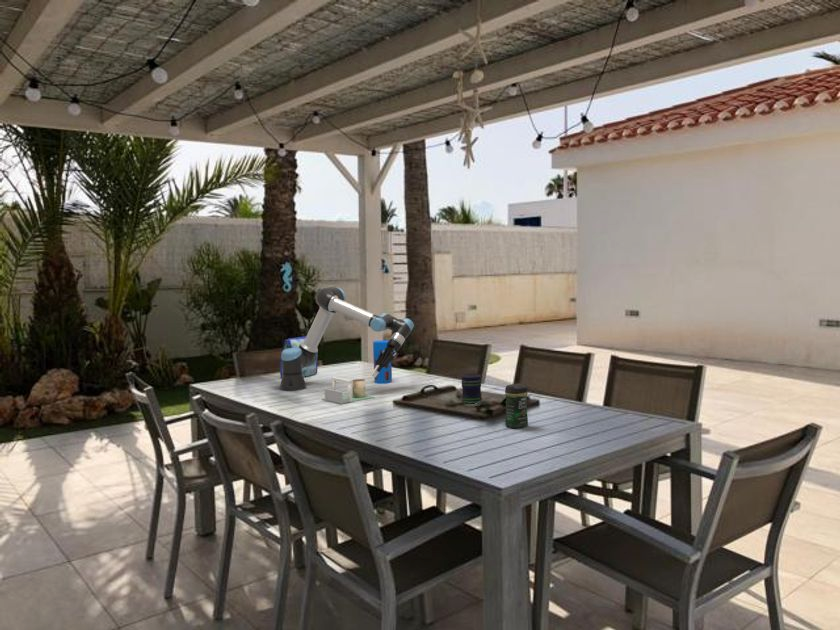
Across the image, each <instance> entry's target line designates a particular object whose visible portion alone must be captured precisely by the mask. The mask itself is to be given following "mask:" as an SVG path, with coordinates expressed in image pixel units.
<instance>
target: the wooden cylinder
mask: <svg viewBox="0 0 840 630" xmlns="http://www.w3.org/2000/svg"><path fill="white" fill-rule="evenodd" d="M351 380H352V383H351V389H352V393H353V398H364V397H366V395H367V394H366V391H367V390H366V379H364V378H356V379H351Z"/></svg>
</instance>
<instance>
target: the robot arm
mask: <svg viewBox="0 0 840 630" xmlns="http://www.w3.org/2000/svg"><path fill="white" fill-rule="evenodd" d="M315 294H316V295H315V302H316V304H317V305H318V306H319V309H318V311H317V313H316V315H315V317H314V320H313V321H312V324H311V325H310V326H311V327H310V328H309V330H308V332H307V334H306V335H305V336H306V338H305V341H304V342H301V343H300V345H299V347H298V348H288V349H285V350H283V349H282V350H283V351H282V350H281V355H282V356H280V360H281V359H282V378H281V380H280V384H279V390H281V389H282V390H281V391H299V390H298V389H300V390H304V389H306V388H307V384H306V381H305V377H303V375H302V368H305V367H309V366H311V365H313V364H314V363H315V362H316V360H317V361H318V358H319V357H318V354H317V352H318V353H319V349H318V346H319V344H320V342H321V340H322V338H323V335H324V334H325V332H326V329H327V327H328V325H329V324H330V322H331V320H332V317H333V315H334V314H336V313H338V314H340V315H342V316H345V317H347V318H349V319H351V320H354V321H356V322H358V323H360V324H362V325H365V326H367V327H369V328H371V330H372V331H374V332H376V333H377V332H383V331H387V330H390V331H392V332H393V333H392V335H391V337H390V339H389V340H388V343H387V347H386V348H385V350H383V351H382V350H381V351H380V354H379V356H378V358H377V360H376V363H375V364H376V365H377V366H376V367H375V369H374V368H373V371H372V372H371V374H370V375H371V376H372V377H373V378H374V377H376V376H377V375H378V373H379V372H380V370H381V369H382V368H383V367H386V366H387V365H388V364H389V363H390V362H391V363H392V361H393V360H394V358H396V357H397V356H398V354H397V352H399V350H400V349H401V346H402V345H403V344H404V342H405V341H406V339H407V338H408V336H409V335H410V333H411V332H412V331H413V328H415V324H414V322H413V321H412V320H411V319H410V318H407V317H406V318H403V319H402V320H401V319H399V318H398V317H395V316H393V315H391V314H389V313H386V312H383V313H381V314H380V316H379V315H377V314H375V313H373V312H370V311H368V310H366V309H363V308H361V307H359V306H356V305H354V304H352V303H349V302H347V301H346V300H347V299H346V297H347V296H346V293H345V291H344V290H343V289H342V288H340V287H336V286H332V287H323V288H321V289H319V290H318V291H317V292H316V293H315ZM385 364H386V365H385ZM303 388H304V389H303Z"/></svg>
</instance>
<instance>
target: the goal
mask: <svg viewBox="0 0 840 630" xmlns="http://www.w3.org/2000/svg"><path fill="white" fill-rule="evenodd" d="M331 380H332V389H330V388H325V387H324V398H325V400H329V401H333V402H337V403H336V404H338V403H341V404H340V405H343V403H344V404H348V403H347V402H350V403H353V402H352V395H351V394H352V380H353V379H347V378H342V377H341V378H340V377H336V376H334V377H331ZM337 382H342V383H346V384H347V394H348V398H346V399H343V395H344V393H343V392H342V391H341V390H340V391H339V390H337ZM325 400H324V401H325ZM329 401H328V402H329ZM333 402H332V403H333Z"/></svg>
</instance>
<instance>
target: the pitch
mask: <svg viewBox="0 0 840 630" xmlns="http://www.w3.org/2000/svg"><path fill="white" fill-rule="evenodd" d="M351 395H352V402H347V403H346V404H349V403H355V402H359V401H365V400H369V399H375V396H370V395H367V394H366V397H364V398H353V392H351ZM346 398H348V393H347V394H343V399H346ZM321 401H326V402H329V403H330V402H331V403H333V404H338V405H343V404H345V403H343V404H341V403H337V402H333V401H329V400H325V397H324V398H321Z"/></svg>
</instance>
